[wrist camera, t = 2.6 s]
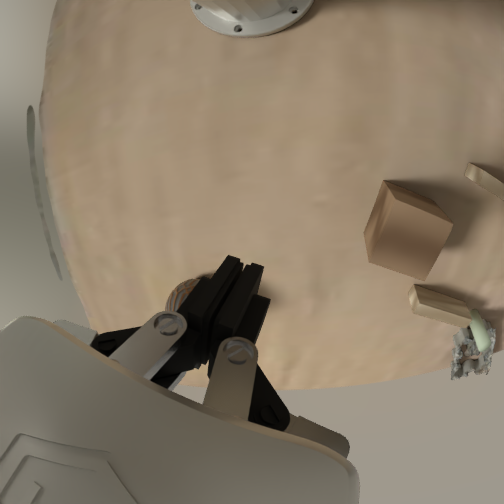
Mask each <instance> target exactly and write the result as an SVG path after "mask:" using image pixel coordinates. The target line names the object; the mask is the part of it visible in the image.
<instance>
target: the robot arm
mask: <svg viewBox="0 0 504 504" xmlns="http://www.w3.org/2000/svg"><path fill="white" fill-rule="evenodd" d="M313 1H314V0H190V5H191V8H192V11H193V13H194V14H195V16H196V17H197V19H198V20H199V21H200V22H201V23H202V24H204V25H205V26H206V27H208V28H210V29H211V30H213V31H216V32H218V33H220V34H223V35H227V36H231V37H239V38H252V37H260V36H266V35H269V34H273V33H276V32H279V31H281V30H283V29H285V28H287V27H289V26H291V25H292V24H294V23H295V22H297V21H298V20H300V19H301V18H302V17H303V16H304V15H305V14H306V13H307V11H308V10H309V8H310V7H311V5H312V4H313ZM294 11H296V12H297V13H296V14H292V13H293V12H294ZM240 29H242V31H241V32H239V30H240ZM243 265H244V264H243V263H241V262H240V259H239V258H236V257H233V256H230V255H228V256H227V257H226V259H225V260H224V261H223V263H222V264H221V266H220V267H219V268H218V270H217V271H216V273H215V274H214V275H213V277H212V278H211V279H209V278H207V277H202V278H201V279H200V280H199V282H198V283H197V284H196V286H195V287H194V288H193V290H192V291H191V292H190V294H189V295H188V296H187V298H186V299H185V300H184V302H183V303H182V304H181V306H180V307H179V308H178V310H177V311H176V312H174V311H162V312H159V313H157V314H156V315H154V316H153V317H152V318H151V319H150V320H149V321H147V322H146V323H145V324H144V325H143V326H141V327H135V328H130V329H124V330H118V331H112V332H106V333H103V334H98V332H97V331H95V330H92V329H89V328H85V327H83V326H79V325H77V324H74V323H71V322H69V321H66V320H57V321H55V322H53V323H52V322H50V321H47V320H45V319H41V318H37V317H33V316H21V317H18V318H16V319H14V320H13V321H11V322H10V323H9V324H7V325H6V326H5V327H4V328H3V329H2V330H0V504H358V503H359V493H360V482H359V476H358V473H357V470H356V468H355V467H354V466H353V465H352V463H351V462H350V461H348V460H347V459H346V458H347V456H348V454H349V449H350V446H349V442H348V440H347V439H346V437H344V436H342V435H341V434H339V433H337V432H334V431H332V430H330V429H327V428H325V427H323V426H320V425H318V424H316V423H314V422H312V421H310V420H307V419H305V418H303V417H301V416H298V417H296V416H294V415H292V414H290V413H289V411H288V409H287V407H286V406H285V404H284V403H283V402H282V400H281V399H280V397H279V396H278V395H277V393H276V391H275V390H274V388H273V387H272V385H271V384H270V382H269V381H268V379H267V378H266V376H265V375H264V373H263V372H262V370H261V369H260V367H259V365H258V364H257V361H258V350H257V348H256V346H255V343H256V341H257V338H258V336H259V333H260V330H261V328H262V325H263V322H264V319H265V316H266V313H267V310H268V307H269V304H270V300H271V299H269V298H266V297H263V296H259V295H257V293H258V289H259V285H260V281H261V277H262V273H263V269H264V266H261V265H258V264H255V263H252V264H251V265H248V264H247V265H246V266H245V268H244V270H243ZM242 270H243V271H242ZM208 360H209V365H208V374H207V375H208V377H209V379H210V380H209V384H208V387H207V391H206V394H205V398H204V401H203V405H202V404H200V403H197V402H195V401H192V400H190V399H188V398H185V397H183V396H181V395H179V394H177V393H174V392H172V390H173V389H174V388H175V387H176V386H177V384H178V383H179V382H180V381H181V380H182V378H183V377H184V376H185V374H186V371H189V370H193V369H194V368H196V369H199V368H200V366H201V364H204V365H206V363H207V362H208Z"/></svg>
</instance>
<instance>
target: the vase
mask: <svg viewBox="0 0 504 504" xmlns="http://www.w3.org/2000/svg"><path fill="white" fill-rule="evenodd" d="M199 280H200V279H190V280H187V281H184V282H182V283H181V284H179V285H178V286H177V287H176V288H175V289H174V290H173V291H172V293H171V294H170V296H169V298H168V300H167V303H166V307H165V311H174V312H176V311H177V310H178V308H179V307H180V306H181V304H182V303H183V302H184V300H185V299H186V298H187V296H188V295H189V294H190V292H191V291H192V290H193V288H194V287H195V286H196V284H197V283H198V282H199Z"/></svg>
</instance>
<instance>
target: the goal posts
mask: <svg viewBox="0 0 504 504" xmlns="http://www.w3.org/2000/svg"><path fill="white" fill-rule="evenodd" d="M469 313H470V315H471V318H472V321H471V323H470V324H469V325H470V328H471V330H472V333H473V336H474V339H475V341H476V344H477V347H478V350H479V351H480V352H483V351H485V350H487V349H488V348H489V347H490V346H491V340H490V338H489V335H488V333H487V331H486V328H485V326H484V323H483V321H482V319H481V317H480V314H479V312H478V310H476V309H473V310H471V311H470V312H469Z"/></svg>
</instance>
